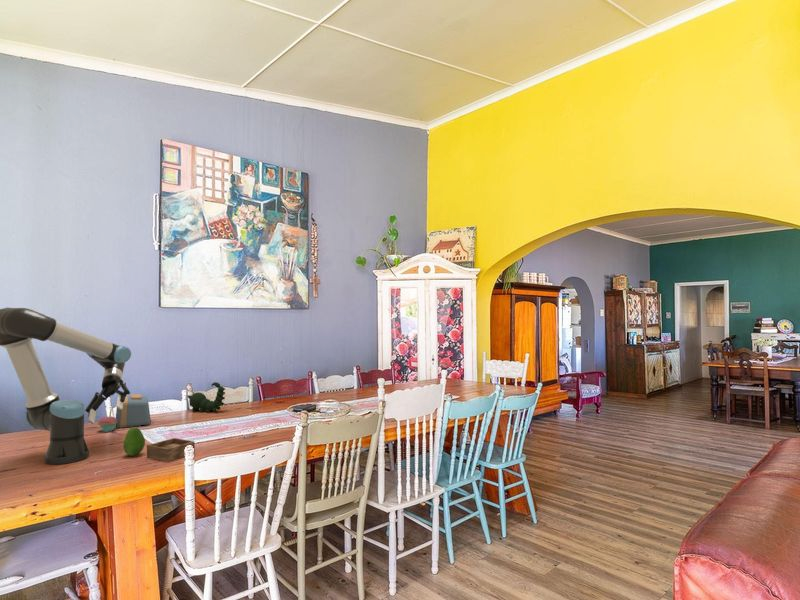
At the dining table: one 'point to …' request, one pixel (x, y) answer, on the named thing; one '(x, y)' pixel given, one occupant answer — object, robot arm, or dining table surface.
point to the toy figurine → (207, 400)
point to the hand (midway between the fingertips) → (105, 415)
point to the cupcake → (107, 423)
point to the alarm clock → (133, 412)
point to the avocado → (134, 441)
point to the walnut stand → (168, 449)
